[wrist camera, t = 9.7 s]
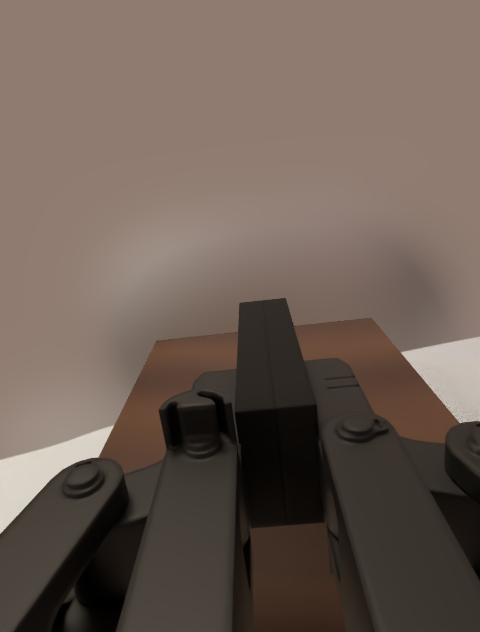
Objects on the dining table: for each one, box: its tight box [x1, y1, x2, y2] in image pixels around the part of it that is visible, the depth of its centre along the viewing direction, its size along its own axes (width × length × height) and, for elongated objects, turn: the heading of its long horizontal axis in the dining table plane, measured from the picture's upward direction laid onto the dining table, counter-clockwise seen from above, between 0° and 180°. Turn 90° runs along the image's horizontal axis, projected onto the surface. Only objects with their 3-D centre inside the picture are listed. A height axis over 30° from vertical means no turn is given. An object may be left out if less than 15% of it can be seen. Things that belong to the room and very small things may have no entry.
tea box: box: [249, 513, 346, 632], centre depth 24 cm, size 14×15×9 cm
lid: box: [99, 318, 460, 474], centre depth 23 cm, size 14×15×1 cm
